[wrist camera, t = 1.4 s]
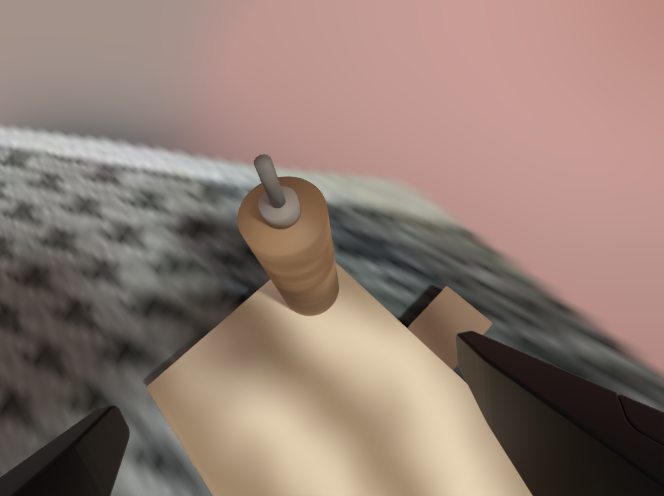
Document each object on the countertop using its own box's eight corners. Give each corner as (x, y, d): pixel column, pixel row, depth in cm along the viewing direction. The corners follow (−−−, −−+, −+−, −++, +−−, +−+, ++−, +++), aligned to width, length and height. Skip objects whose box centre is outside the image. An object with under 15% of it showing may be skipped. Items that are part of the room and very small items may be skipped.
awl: (308, 328, 21) (252, 231, 10) (271, 288, 23) (184, 163, 11) (350, 288, 22) (342, 159, 11) (312, 252, 24) (270, 104, 12)
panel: (445, 1113, 11) (453, 1177, 10) (98, 437, 20) (86, 438, 19) (729, 525, 16) (750, 532, 15) (352, 215, 26) (352, 208, 25)
